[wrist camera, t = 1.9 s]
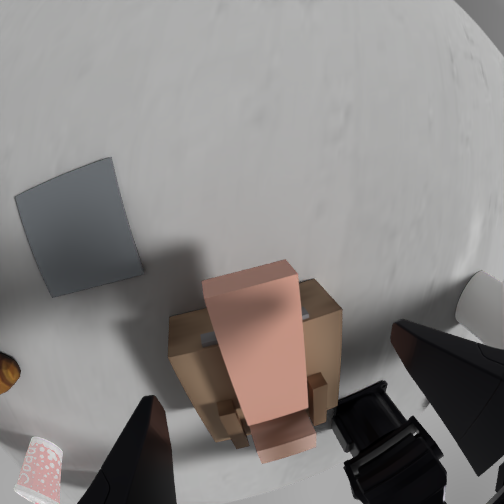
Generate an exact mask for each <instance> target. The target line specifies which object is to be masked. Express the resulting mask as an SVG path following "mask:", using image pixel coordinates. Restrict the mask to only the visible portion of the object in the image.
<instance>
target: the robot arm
mask: <svg viewBox="0 0 504 504" xmlns="http://www.w3.org/2000/svg"><path fill="white" fill-rule="evenodd" d="M390 339H391V343H392V345H393V347H394V349H395V350H396V352H397V354H398V355H399V357H400V359H401V361H402V362H403V364H404V366H405V368H406V369H407V371H408V372H409V374H410V375H411V377H412V378H413V380H414V381H415V382H416V384H417V385H418V386H419V388H420V389H421V391H422V392H423V394H424V395H425V396H426V398H427V399H428V401H429V402H430V403H431V405H432V406H433V408H434V409H435V411H436V412H437V414H438V415H439V417H440V418H441V419H442V421H443V422H444V424H445V425H446V427H447V428H448V430H449V431H450V433H451V435H452V436H453V438H454V439H455V441H456V442H457V444H458V446H459V447H460V449H461V450H462V452H463V453H464V455H465V456H466V458H467V460H468V461H469V463H470V465H471V466H472V468H473V469H474V471H475V473H476V474H477V476H478V477H479V476H480V475H481V474H483V473H484V472H485V471H486V470H487V469H489V468H490V467H491V466H492V465H493V464H494V463H495V462H497V461H498V460H499V459H500V458H501V457H502V456H503V455H504V350H503V349H498V348H494V347H491V346H487V345H484V344H480V343H476V342H474V341H471V340H467V339H464V338H461V337H458V336H455V335H451V334H448V333H445V332H442V331H439V330H436V329H433V328H430V327H426V326H423V325H420V324H417V323H414V322H411V321H408V320H405V319H400V320H398V321H396V322H394V323H393V325H392V331H391V337H390ZM386 388H387V382H386V381H383V382H381V383H379V384H377V385H374V386H372V387H370V388H368V389H366V390H364V391H362V392H360V393H357V394H355V395H353V396H351V397H348V398H346V399H344V400H341V401H339V402H338V406H336V407H335V410H334V416H333V418H332V430H333V432H334V433H335V435H336V437H337V439H338V441H339V443H340V445H341V446H342V448H343V450H344V452H346V453H348V452H350V453H351V454H352V456H353V458H352V459H350V460H347V461H345V462H344V465H345V466H344V470H345V472H346V474H347V476H348V478H349V481H350V485H351V490H352V494H353V497H354V498H355V499H358V500H360V501H361V502H362V503H363V504H447V503H446V502H445V492H446V482H447V472H446V470H445V468H444V467H443V466H442V464H441V463H440V461H439V459H440V458H442V457H443V456H444V455H443V453H442V452H441V450H440V448H439V447H438V445H437V444H436V443H435V441H434V440H433V439H432V437H431V436H430V435H429V434H428V433H427V431H426V430H425V429H424V428H423V427H422V425H421V424H420V423H419V422H418V421H417V419H416V418H415V417H414V416H411V417H410V418H409V420H408V421H407V420H406V419H405V417H404V416H403V415H402V413H401V412H400V411H399V410H398V408H397V407H396V406H395V404H394V403H393V402H392V400H391V399H390V398H389V396H388V395H387V394H386ZM415 432H416V433H417V434H416V435H415V436H413V434H414V433H415ZM495 491H496V492H497V493H496V494H495V495H494V496H493V498H491V499H490V500H489V501H488V502H487V503H486V504H504V462H503V463H502V464H501V465H500V466H499V471H498V478H497V483H496V489H495ZM77 504H177V502H176V493H175V484H174V473H173V460H172V449H171V443H170V438H169V432H168V426H167V420H166V414H165V410H164V408H163V406H162V405H161V404H160V402H159V401H158V399H157V397H156V396H155V395H149V396H144V397H143V398H142V399H141V401H140V403H139V404H138V406H137V408H136V409H135V411H134V413H133V414H132V416H131V418H130V419H129V421H128V423H127V424H126V426H125V428H124V429H123V431H122V433H121V434H120V436H119V438H118V439H117V441H116V443H115V445H114V446H113V448H112V450H111V451H110V453H109V455H108V457H107V458H106V460H105V462H104V463H103V465H102V467H101V469H100V470H99V472H98V474H97V475H96V477H95V479H94V480H93V482H92V483H91V485H90V487H89V488H88V489H87V491H86V492H85V494H84V495H83V497H82V498H81V499H80V501H79V502H78V503H77Z"/></svg>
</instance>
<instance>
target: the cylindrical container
mask: <svg viewBox="0 0 504 504" xmlns="http://www.w3.org/2000/svg"><path fill="white" fill-rule="evenodd" d="M455 317H456V320H457V321H458V322H459V323H460V324H461V325H463V326H464V327H465V328H466V329H468V330H469V331H470V332H471V333H472V334H474V335H475V336H476V337H477V338H478V339H480V340H481V341H482V342H483V343H484V344H486V345H487V346H491V347H494V348H498V349H503V350H504V283H503V282H502V281H500V280H498V279H497V278H495V277H493V276H492V275H490V274H488V273H487V272H485V271H479V272H478V273H476V274H475V275H474V276H473V277H472V278H471V280H470V281H469V282H468V284H467V285H466V287H465V289H464V290H463V292H462V294H461V296H460V299H459V301H458V304H457V308H456V313H455Z"/></svg>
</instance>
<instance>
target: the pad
mask: <svg viewBox="0 0 504 504" xmlns="http://www.w3.org/2000/svg"><path fill="white" fill-rule="evenodd" d="M15 199H16V202H17V206H18V210H19V213H20V216H21V220H22V223H23V226H24V229H25V232H26V235H27V238H28V241H29V244H30V247H31V249H32V252H33V255H34V257H35V260H36V262H37V265H38V267H39V270H40V272H41V274H42V277H43V279H44V281H45V283H46V286H47V288H48V290H49V292H50V294H51V296H52V298H53V297H57V296H61V295H65V294H69V293H73V292H77V291H81V290H84V289H88V288H92V287H96V286H100V285H104V284H108V283H112V282H116V281H120V280H124V279H128V278H132V277H135V276H139V275H143V274H144V269H143V266H142V263H141V260H140V258H139V255H138V252H137V249H136V245H135V242H134V239H133V236H132V233H131V230H130V226H129V223H128V219H127V216H126V213H125V209H124V205H123V202H122V198H121V194H120V191H119V187H118V183H117V179H116V175H115V170H114V166H113V162H112V157H109V158H106V159H103V160H100V161H98V162H95V163H92V164H89V165H87V166H84V167H81V168H79V169H76V170H73V171H71V172H68V173H66V174H64V175H61V176H59V177H56V178H54V179H52V180H49V181H47V182H45V183H43V184H40V185H38V186H36V187H34V188H32V189H30V190H28V191H26V192H24V193H21V194H19V195H17V196H16V197H15Z"/></svg>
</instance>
